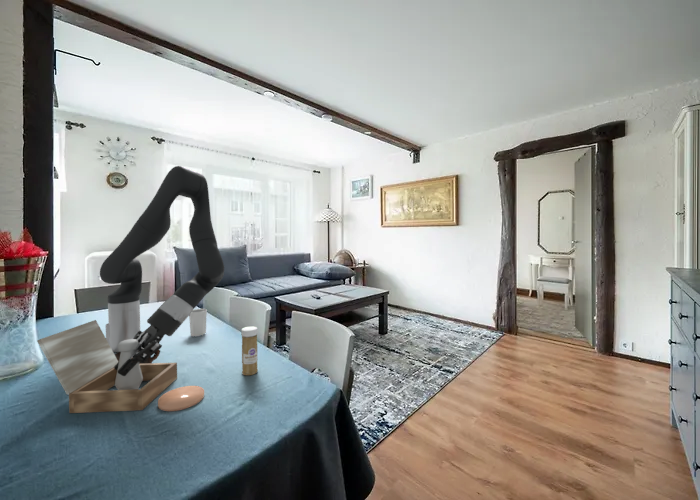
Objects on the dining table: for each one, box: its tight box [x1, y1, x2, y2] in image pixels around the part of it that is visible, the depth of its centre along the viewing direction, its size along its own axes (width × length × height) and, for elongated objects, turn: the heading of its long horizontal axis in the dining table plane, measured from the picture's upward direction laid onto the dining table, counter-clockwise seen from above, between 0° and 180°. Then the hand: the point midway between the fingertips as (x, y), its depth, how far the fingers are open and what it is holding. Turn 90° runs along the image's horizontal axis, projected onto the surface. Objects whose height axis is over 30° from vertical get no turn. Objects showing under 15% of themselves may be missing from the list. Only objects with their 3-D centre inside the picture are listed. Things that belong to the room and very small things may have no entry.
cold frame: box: [36, 319, 178, 414], centre depth 76 cm, size 22×16×17 cm
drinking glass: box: [188, 308, 208, 337], centre depth 124 cm, size 7×7×10 cm
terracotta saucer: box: [157, 385, 205, 412], centre depth 74 cm, size 10×10×1 cm
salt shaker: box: [114, 339, 143, 390], centre depth 76 cm, size 6×6×13 cm
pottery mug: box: [114, 349, 161, 364], centre depth 92 cm, size 12×10×8 cm
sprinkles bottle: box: [240, 325, 259, 376], centre depth 88 cm, size 5×5×13 cm
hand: (119, 371), depth 75 cm, fingers closed on salt shaker, 3 cm apart
